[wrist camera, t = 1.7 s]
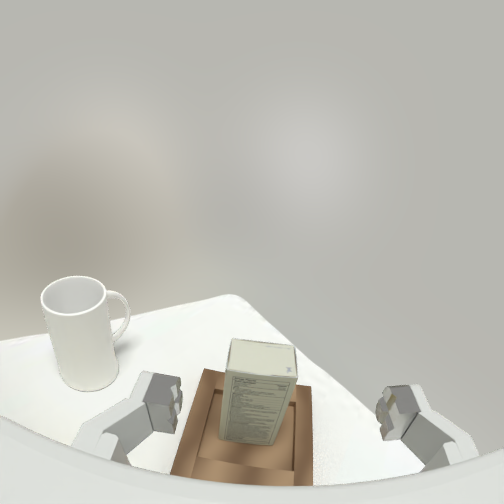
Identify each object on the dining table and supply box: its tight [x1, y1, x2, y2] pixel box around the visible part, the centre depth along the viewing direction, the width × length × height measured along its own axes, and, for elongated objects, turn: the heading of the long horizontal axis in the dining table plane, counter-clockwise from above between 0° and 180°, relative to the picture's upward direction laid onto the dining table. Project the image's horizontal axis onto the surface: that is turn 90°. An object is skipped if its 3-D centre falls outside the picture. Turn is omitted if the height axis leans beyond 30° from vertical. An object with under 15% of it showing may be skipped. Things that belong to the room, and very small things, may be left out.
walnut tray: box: [170, 368, 313, 486], centre depth 31 cm, size 14×16×2 cm
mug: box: [41, 276, 130, 392], centre depth 34 cm, size 12×8×12 cm
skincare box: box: [219, 338, 298, 445], centre depth 29 cm, size 6×4×12 cm
